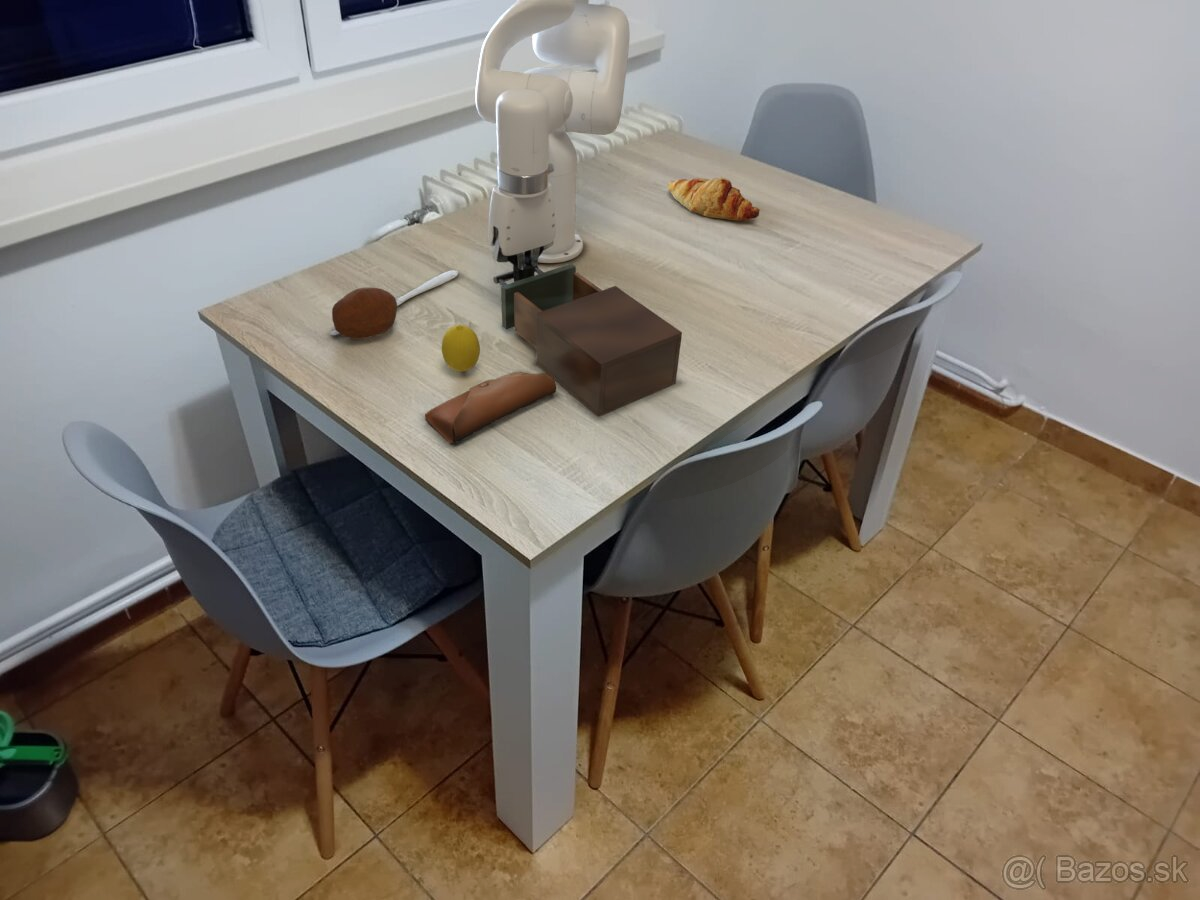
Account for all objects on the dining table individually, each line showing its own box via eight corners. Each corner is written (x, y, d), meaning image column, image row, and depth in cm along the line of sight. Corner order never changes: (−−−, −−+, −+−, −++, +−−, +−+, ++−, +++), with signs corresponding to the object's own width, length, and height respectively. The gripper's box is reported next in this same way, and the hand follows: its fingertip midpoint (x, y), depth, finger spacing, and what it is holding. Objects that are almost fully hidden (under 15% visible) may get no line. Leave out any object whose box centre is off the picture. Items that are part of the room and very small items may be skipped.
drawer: (480, 308, 148) (478, 268, 143) (547, 285, 154) (548, 246, 150) (554, 370, 135) (555, 329, 131) (624, 343, 142) (627, 302, 137)
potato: (321, 332, 141) (315, 291, 136) (378, 306, 148) (374, 266, 142) (355, 357, 137) (350, 316, 132) (411, 330, 144) (408, 290, 139)
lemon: (474, 384, 133) (472, 338, 128) (438, 378, 134) (434, 332, 129) (485, 363, 138) (483, 318, 132) (450, 358, 138) (447, 312, 133)
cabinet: (536, 364, 138) (536, 313, 132) (612, 335, 145) (615, 285, 139) (598, 417, 129) (601, 364, 123) (675, 383, 136) (682, 332, 130)
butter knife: (464, 274, 156) (452, 267, 158) (337, 338, 140) (325, 330, 142) (464, 277, 157) (452, 270, 158) (338, 341, 141) (326, 333, 142)
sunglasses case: (519, 368, 136) (534, 346, 131) (545, 406, 135) (561, 385, 130) (419, 416, 126) (430, 394, 121) (447, 457, 125) (459, 437, 120)
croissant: (658, 213, 187) (650, 186, 180) (683, 178, 190) (676, 150, 183) (748, 243, 178) (744, 216, 171) (773, 206, 180) (770, 177, 173)
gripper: (549, 159, 141) (548, 264, 153) (466, 180, 134) (472, 288, 146) (578, 176, 137) (574, 283, 149) (493, 199, 130) (497, 309, 142)
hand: (523, 285), depth 147 cm, fingers closed
